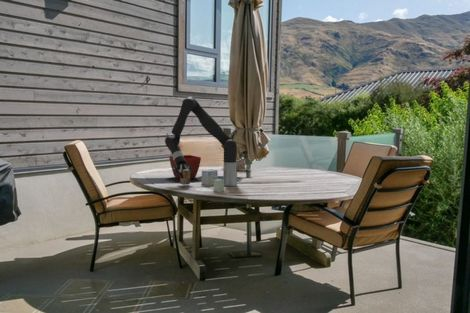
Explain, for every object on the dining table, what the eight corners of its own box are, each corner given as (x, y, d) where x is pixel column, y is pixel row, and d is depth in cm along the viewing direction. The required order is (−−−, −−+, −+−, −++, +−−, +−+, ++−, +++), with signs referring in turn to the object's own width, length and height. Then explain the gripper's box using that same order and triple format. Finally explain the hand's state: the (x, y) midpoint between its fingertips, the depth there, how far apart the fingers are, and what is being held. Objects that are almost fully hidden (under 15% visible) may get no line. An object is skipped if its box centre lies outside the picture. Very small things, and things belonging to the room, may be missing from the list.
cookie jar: (249, 171, 387) (250, 135, 384) (222, 170, 387) (223, 135, 383) (248, 167, 412) (249, 134, 408) (222, 166, 411) (223, 133, 408)
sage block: (218, 190, 292) (218, 178, 291) (223, 191, 289) (224, 179, 288) (213, 191, 288) (213, 179, 287) (218, 192, 285) (218, 180, 284)
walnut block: (186, 183, 304) (186, 169, 303) (189, 184, 300) (190, 170, 299) (180, 183, 302) (180, 169, 301) (183, 184, 298) (183, 170, 296)
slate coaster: (187, 185, 307) (187, 184, 307) (193, 187, 300) (193, 186, 300) (176, 186, 302) (176, 185, 302) (182, 188, 295) (182, 187, 295)
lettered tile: (206, 188, 298) (206, 188, 297) (212, 190, 290) (212, 190, 290) (194, 189, 293) (194, 189, 293) (201, 192, 285) (201, 191, 285)
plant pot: (180, 180, 330) (180, 158, 328) (168, 176, 345) (168, 156, 343) (201, 178, 341) (201, 157, 339) (189, 175, 356) (189, 154, 355)
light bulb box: (211, 183, 321) (211, 168, 320) (217, 184, 316) (218, 169, 315) (201, 184, 312) (201, 170, 311) (207, 186, 308) (208, 171, 307)
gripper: (171, 155, 301) (178, 175, 293) (189, 155, 309) (197, 174, 300) (168, 162, 306) (175, 181, 297) (186, 161, 314) (193, 180, 305)
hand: (186, 177), depth 299 cm, fingers closed on walnut block, 5 cm apart
